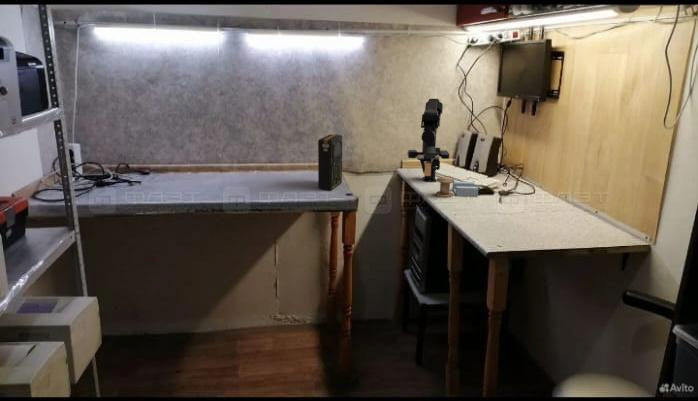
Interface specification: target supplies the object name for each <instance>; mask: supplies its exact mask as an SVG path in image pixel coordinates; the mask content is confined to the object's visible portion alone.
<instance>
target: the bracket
mask: <svg viewBox="0 0 698 401" xmlns="http://www.w3.org/2000/svg"><path fill="white" fill-rule="evenodd" d="M451 188H452V191H453V194H454V195H455V196H456V197H478V196H479V187H478V186H475V182H474V181H454V182H453V183H452V186H451Z"/></svg>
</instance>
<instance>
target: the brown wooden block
mask: <svg viewBox="0 0 698 401" xmlns="http://www.w3.org/2000/svg"><path fill="white" fill-rule="evenodd" d="M422 172H423V171H422ZM422 174H423V177H424V176H430V175H431V162H430V161H424V172H423V173H422Z"/></svg>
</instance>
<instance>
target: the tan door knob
mask: <svg viewBox="0 0 698 401" xmlns="http://www.w3.org/2000/svg"><path fill="white" fill-rule="evenodd" d="M436 180H437V181H436V182H437V183H440V185H439V186H440V187H439V190H437V191H436V192H435V195H436V197H438V198H452V197H453V196H454V192H452V191H450V186H451V184H453V182H455V179H454V178H451V177H446V176H445V177H443V176H442V177H438V178H437V179H436Z"/></svg>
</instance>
